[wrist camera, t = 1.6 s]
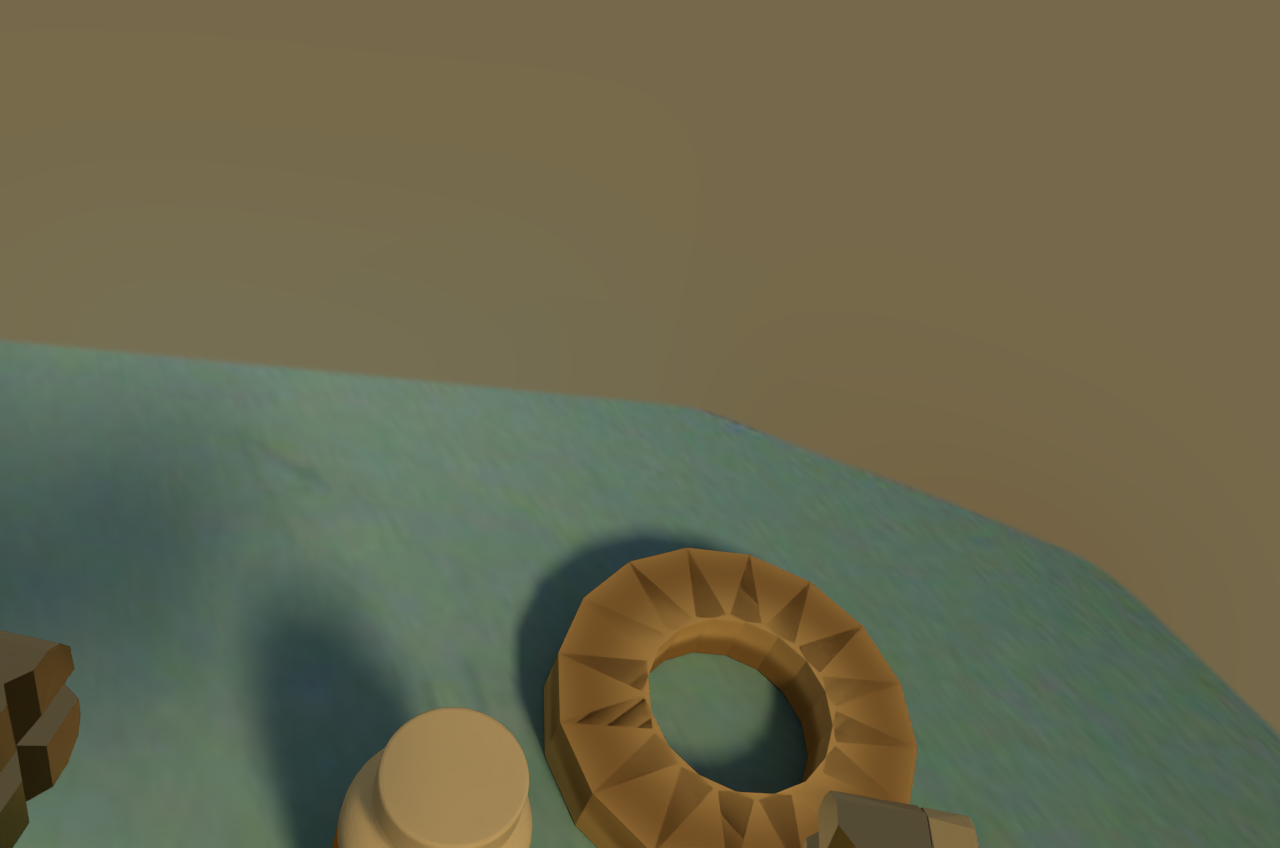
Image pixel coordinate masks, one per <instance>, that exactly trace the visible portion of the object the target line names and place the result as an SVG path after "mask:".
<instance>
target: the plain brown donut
mask: <svg viewBox="0 0 1280 848" xmlns="http://www.w3.org/2000/svg"><path fill="white" fill-rule="evenodd" d="M691 652H697V653H708V654H719V655H726V656H729V657H731V658H733V659H735V660H737V661H740V662H742V663H744V664H746V665H749V666H751V667H753V668H755V669H757V670H758V671H759V672H761V673H762V674H763V675H764V676H765V677H766V678H767V679H768V680H770V681H771V682H772V683H773V684H774V685H775V686H776V687H777V688H779V689H780V690H781V691H782V692H783V693H784V695H785V696H786V698H787V700H788V701H789V703H790V705H791V706H792V708H793V710H794V711H795V713H796V715H797V717H798V718H799V720H800V722H801V723H802V729H803V734H804V739H805V744H806V750H807V755H808V758H807V762H806V766H805V771H804V775H803V780H802V783H801V784H798V785H796V786H793V787H791V788H788V789H785V790H783V791H780V792H778V793H775V794H766V793H749V792H736V791H733V790H731V789H729V788H727V787H725V786H722V785H720V784H718V783H716V782H714V781H711V780H709V779H707V778H705V777H703V776H700V775H699V774H697V773H696V772H695V771H694V770H693V769H692V768H691V767H690V766H689V765H688V764H687V763H686V762H685V761H684V760H683V759H682V758H681V757H680V756H679V755H677V754H676V753H675V752H674V751H673V750H672V749H671V748H670V747H669V746H668V744H667V742H666V740H665V738H664V736H663V734H662V732H661V730H660V728H659V726H658V724H657V722H656V720H655V718H654V716H653V714H652V712H651V704H650V693H649V682H648V676H649V673H650V672H651V671H653V670H654V669H655V668H656V667H657V666H658V665H659V664H660V663H661V662H662V661H665V660H668V659H671V658H675V657H678V656H681V655H684V654H688V653H691ZM544 746H545V757H546V760H547V762H548V764H549V766H550V769H551V771H552V773H553V776H554V778H555V780H556V782H557V785H558V787H559V789H560V791H561V794H562V796H563V798H564V801H565V803H566V805H567V807H568V810H569V812H570V814H571V816H572V819H573V821H574V823H575V825H576V826H577V827H578V828H579V829H580V830H581V831H582V832H583V833H584V834H585V835H586V836H587V837H588V838H589V839H590V841H591V842H592V843H593V844H594V845H595V846H596V847H597V848H803V846H804V843H805V841H806V838H807V837H809V836H811V835H813V834H815V833H816V832H818V831H819V830H818V809H819V807H820V805H821V803H822V800H823V798H824V796H825V795H826V794H827V793H828V792H829V791H830V790H832V791H838V792H843V793H849V794H855V795H860V796H866V797H871V798H877V799H883V800H888V801H894V802H899V803H905V804H910V798H911V791H912V784H913V777H914V770H915V763H916V756H917V744H916V740H915V736H914V732H913V729H912V725H911V721H910V717H909V714H908V710H907V706H906V702H905V698H904V695H903V691H902V687H901V683H900V682H899V680H898V679H897V677H896V676H895V674H894V673H893V671H892V670H891V668H890V667H889V665H888V664H887V662H886V661H885V659H884V658H883V656H882V655H881V653H880V652H879V650H878V648H877V647H876V645H875V644H874V642H873V641H872V639H871V638H870V636H869V635H868V633H867V632H866V630H865V629H864V627H863V626H862V625H861V624H860V623H858V622H857V621H856V620H855V619H854V618H852V617H851V616H850V615H849V614H848V613H847V612H845V611H844V610H843V609H842V608H841V607H839V606H838V605H837V604H836V603H835V602H834V601H832V600H831V599H830V598H829V597H828V596H826V595H825V594H824V593H823V592H822V591H820V590H819V589H818V588H817V587H816V586H815V585H813V584H812V583H811V582H809V581H807V580H805V579H803V578H800V577H798V576H796V575H794V574H791V573H789V572H787V571H785V570H782V569H780V568H778V567H776V566H773V565H771V564H769V563H767V562H764V561H762V560H760V559H758V558H755V557H753V556H751V555H746V554H738V553H729V552H720V551H712V550H703V549H695V548H683V549H679V550H675V551H671V552H667V553H663V554H659V555H655V556H651V557H647V558H643V559H639V560H635V561H630V562H628V563H627V564H626V565H625V566H623V567H622V568H621V569H619V570H618V571H617V572H616V573H614V574H613V575H612V576H611V577H609V578H608V579H607V580H605V581H604V582H603V583H602V584H600V585H599V586H598V587H597V588H595V589H594V590H593V591H592V592H590V593H589V594H588V595H586V596H585V597H584V598H583V600H582V602H581V605H580V607H579V609H578V611H577V613H576V615H575V618H574V620H573V622H572V624H571V626H570V629H569V631H568V633H567V635H566V637H565V639H564V642H563V644H562V646H561V648H560V650H559V653H558V655H557V657H556V659H555V662H554V664H553V666H552V669H551V671H550V674H549V676H548V678H547V681H546V683H545V685H544Z"/></svg>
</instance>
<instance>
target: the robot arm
mask: <svg viewBox="0 0 1280 848" xmlns="http://www.w3.org/2000/svg"><path fill="white" fill-rule="evenodd" d="M73 670H74V664H73V659H72V654H71V649H70V646H67V645H63V644H60V643H56V642H51V641H46V640H42V639H37V638H33V637H28V636H24V635H19V634H15V633H10V632H5V631H1V630H0V848H13V847H14V845H15V844H16V842H17V841H18V839H19V838H20V836H21V834H22V833H23V831H24V830H25V828H26V827H27V825H28V824H29V817H28V811H27V804H26V802H27V801H28V800H30V799H32V798H34V797H35V796H37V795H39V794H41V793H42V792H44V791H46V790H48V789H49V788H51V787H53V786H54V784H55V783H56V781H57V779H58V778H59V776H60V775H61V773H62V771H63V770H64V768H65V767H66V765H67V763H68V761H69V758H70V756H71V753H72V750H73V748H74V745H75V742H76V740H77V737H78V732H79V723H80V707H79V699H78V697H77V696H76V695H75V694H74V693H73V692H72V691H71V690H70V689H69V688H68V687H67V686H66V685H65V684H64V683H65V682H66V680H67V679H68V677H69V676H70V674H71V673H72V672H73ZM818 830H819V831H818V832H816V833H815V834H813V835H811V836H809V837H807V838H806V841H805V843H804V846H803V848H979V846H978V841H977V836H976V832H975V827H974V824H973V823H972V821H971V820H970V818H969V817H968V816H964V815H959V814H954V813H948V812H943V811H938V810H933V809H928V808H919V807H918V806H916V805H911V804H905V803H899V802H894V801H888V800H883V799H877V798H871V797H866V796H860V795H855V794H849V793H843V792H838V791H832V790H830V791H829V792H828V793H827V794H826V795H825V796H824V798H823V800H822V803H821V805H820V807H819V809H818Z"/></svg>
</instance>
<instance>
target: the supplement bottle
mask: <svg viewBox="0 0 1280 848" xmlns="http://www.w3.org/2000/svg"><path fill="white" fill-rule="evenodd" d="M528 789H529V771H528V766H527V762H526V758H525V756H524V753H523V751H522V749H521V747H520V745H519V743H518V742H517V740H516V739H515V738H514V736H513V735H512V734H511V733H510V732H509V731H508V730H507V729H506V728H505V727H504V726H503V725H502V724H500V723H499V722H498V721H496V720H495V719H493V718H491V717H489V716H487V715H485V714H483V713H481V712H478V711H475V710H471V709H466V708H460V707H446V708H439V709H434V710H430V711H427V712H425V713H422V714H420V715H417V716H416V717H414V718H412V719H411V720H409V721H408V722H406V723H405V724H404V725H402V726H401V727H400V728H399V729H398V730H397V731H396V732H395V733H394V735H393V736H392V737H391V738H390V740H389V741H388V743H387V745H386V747H385V748H383V749H382V750H380V751H379V752H378V753H376V754H375V755H374V756H373V757H372V758H370V759H369V760H368V761H367V762H366V764H365V765H364V766H363V767H362V768H361V769H360V771H359V772H358V773H357V775H356V776H355V778H354V779H353V781H352V783H351V785H350V786H349V788H348V791H347V793H346V795H345V798H344V801H343V803H342V807H341V811H340V814H339V819H338V824H337V829H336V833H335V838H334V843H333V848H530V844H531V837H532V814H531V807H530V802H529V799H528Z"/></svg>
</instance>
